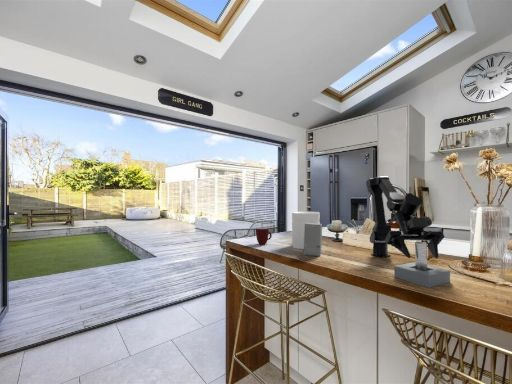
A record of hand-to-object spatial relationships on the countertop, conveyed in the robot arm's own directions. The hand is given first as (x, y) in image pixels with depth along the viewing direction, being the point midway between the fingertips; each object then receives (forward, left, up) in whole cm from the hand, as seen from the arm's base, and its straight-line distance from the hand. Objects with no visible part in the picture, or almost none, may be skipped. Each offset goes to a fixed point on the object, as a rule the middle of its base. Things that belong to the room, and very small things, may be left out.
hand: (423, 257), depth 87 cm
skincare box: (+10, -48, -8) cm, 50 cm away
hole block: (-1, -1, -8) cm, 8 cm away
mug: (+21, -82, -8) cm, 85 cm away
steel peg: (-1, -1, -8) cm, 8 cm away
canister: (+2, -65, -8) cm, 66 cm away
